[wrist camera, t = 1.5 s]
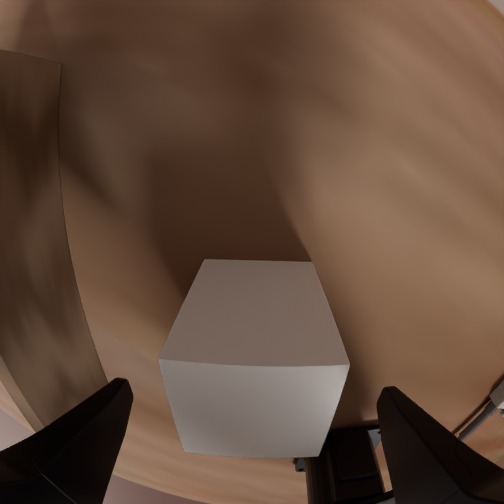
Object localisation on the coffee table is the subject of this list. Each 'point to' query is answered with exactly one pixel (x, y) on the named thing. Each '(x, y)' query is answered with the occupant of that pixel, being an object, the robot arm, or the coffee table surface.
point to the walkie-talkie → (486, 411)
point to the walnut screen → (38, 253)
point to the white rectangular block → (254, 361)
